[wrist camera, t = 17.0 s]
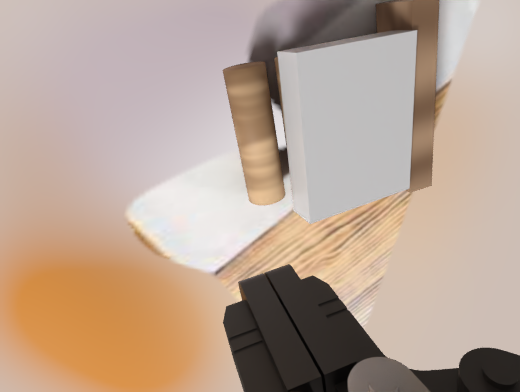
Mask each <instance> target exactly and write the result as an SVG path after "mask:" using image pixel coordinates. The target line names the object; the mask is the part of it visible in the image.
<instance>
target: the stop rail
mask: <svg viewBox="0 0 520 392" xmlns="http://www.w3.org/2000/svg"><path fill="white" fill-rule="evenodd" d="M438 17H439V0H394V1H389V2H384V3H379V4H376V25H377V33H381V32H386V31H395V30H417V46H416V66H415V87H414V107H413V128H412V148H411V169H410V188H409V189H407V190H406V191H408V192H413V191H416V190H420V189H423V188H426V187H429V186H431V185H432V162H433V137H434V114H435V89H436V65H437V41H438Z"/></svg>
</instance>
